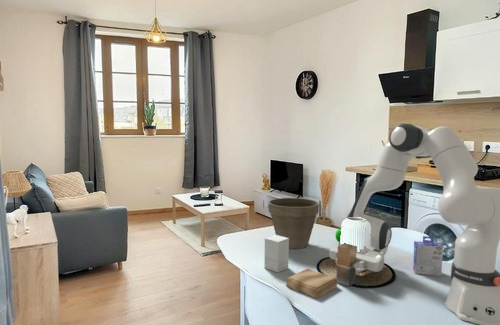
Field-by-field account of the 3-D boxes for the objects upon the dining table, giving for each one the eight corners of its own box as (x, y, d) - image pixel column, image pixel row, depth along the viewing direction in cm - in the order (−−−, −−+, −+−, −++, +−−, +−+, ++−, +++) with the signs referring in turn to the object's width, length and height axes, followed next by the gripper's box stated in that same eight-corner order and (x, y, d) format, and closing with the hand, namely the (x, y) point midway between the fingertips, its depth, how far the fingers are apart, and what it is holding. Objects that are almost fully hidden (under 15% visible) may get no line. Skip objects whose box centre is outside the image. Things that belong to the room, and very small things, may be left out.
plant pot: (256, 243, 175) (257, 200, 173) (289, 234, 191) (290, 195, 189) (295, 257, 156) (296, 209, 154) (327, 245, 173) (329, 202, 171)
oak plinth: (336, 286, 127) (337, 277, 126) (316, 298, 117) (317, 289, 117) (307, 276, 136) (307, 267, 135) (286, 286, 126) (286, 277, 126)
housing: (355, 282, 130) (357, 246, 129) (348, 287, 126) (350, 249, 125) (342, 278, 134) (344, 242, 133) (335, 282, 130) (337, 246, 129)
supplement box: (289, 268, 143) (289, 238, 142) (277, 273, 138) (278, 242, 137) (275, 263, 148) (275, 234, 147) (263, 268, 143) (264, 237, 142)
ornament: (347, 241, 181) (348, 222, 180) (354, 246, 173) (355, 226, 172) (332, 241, 180) (333, 222, 179) (338, 246, 172) (339, 226, 171)
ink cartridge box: (437, 271, 143) (440, 236, 142) (442, 276, 138) (444, 240, 136) (411, 268, 145) (414, 234, 144) (415, 274, 140) (417, 238, 138)
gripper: (339, 241, 146) (321, 248, 136) (388, 253, 132) (371, 262, 122) (339, 255, 146) (320, 264, 136) (387, 269, 132) (371, 280, 122)
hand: (345, 263), depth 129 cm, fingers closed on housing, 5 cm apart
